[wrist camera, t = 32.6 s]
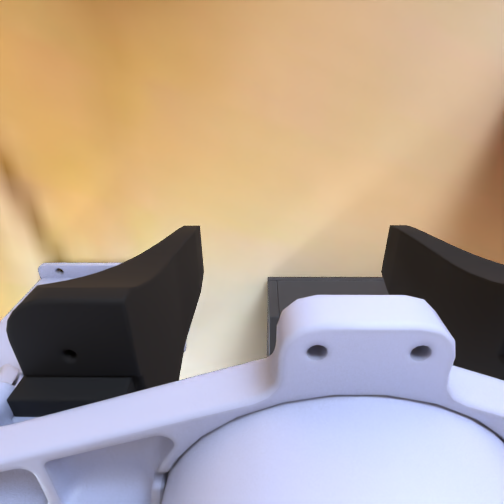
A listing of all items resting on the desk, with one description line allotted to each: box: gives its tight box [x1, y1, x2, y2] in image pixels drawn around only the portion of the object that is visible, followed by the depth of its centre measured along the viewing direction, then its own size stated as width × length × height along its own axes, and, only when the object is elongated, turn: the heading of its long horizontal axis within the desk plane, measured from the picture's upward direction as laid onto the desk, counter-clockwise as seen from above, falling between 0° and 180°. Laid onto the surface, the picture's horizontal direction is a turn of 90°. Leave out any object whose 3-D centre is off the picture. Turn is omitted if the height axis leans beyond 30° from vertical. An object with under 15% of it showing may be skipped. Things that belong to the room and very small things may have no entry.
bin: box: [267, 277, 389, 357], centre depth 26 cm, size 10×10×4 cm
